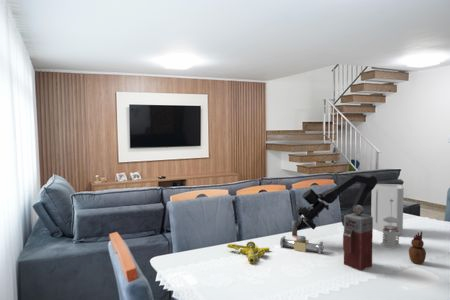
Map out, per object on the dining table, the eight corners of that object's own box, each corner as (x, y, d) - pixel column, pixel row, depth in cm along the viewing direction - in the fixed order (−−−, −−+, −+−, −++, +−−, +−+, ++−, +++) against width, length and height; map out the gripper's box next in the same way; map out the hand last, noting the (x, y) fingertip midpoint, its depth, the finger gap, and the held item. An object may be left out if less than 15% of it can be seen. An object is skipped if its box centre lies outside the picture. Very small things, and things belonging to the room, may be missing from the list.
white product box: (414, 233, 200) (415, 187, 199) (397, 236, 194) (398, 189, 192) (386, 225, 217) (387, 182, 216) (370, 228, 211) (371, 184, 210)
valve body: (323, 250, 172) (323, 241, 172) (321, 254, 167) (321, 245, 166) (283, 244, 183) (283, 235, 182) (279, 247, 177) (279, 238, 177)
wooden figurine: (423, 261, 157) (424, 230, 156) (426, 266, 152) (427, 233, 151) (407, 259, 159) (408, 228, 159) (410, 264, 154) (410, 232, 153)
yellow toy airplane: (272, 264, 155) (269, 248, 175) (271, 251, 155) (268, 236, 175) (226, 268, 157) (227, 251, 177) (224, 254, 156) (226, 239, 176)
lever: (307, 241, 173) (307, 225, 172) (299, 242, 172) (299, 226, 171) (296, 235, 183) (296, 220, 182) (289, 236, 182) (289, 221, 181)
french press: (381, 246, 177) (382, 200, 176) (379, 240, 188) (380, 196, 187) (401, 249, 174) (402, 201, 172) (399, 242, 184) (400, 197, 183)
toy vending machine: (340, 265, 153) (340, 205, 152) (355, 260, 160) (356, 202, 158) (357, 272, 146) (358, 209, 144) (372, 266, 152) (373, 205, 150)
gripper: (300, 196, 190) (281, 215, 191) (310, 204, 172) (288, 225, 172) (313, 209, 191) (294, 228, 192) (324, 218, 173) (303, 240, 173)
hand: (295, 230), depth 182 cm, fingers closed, pressing on lever
